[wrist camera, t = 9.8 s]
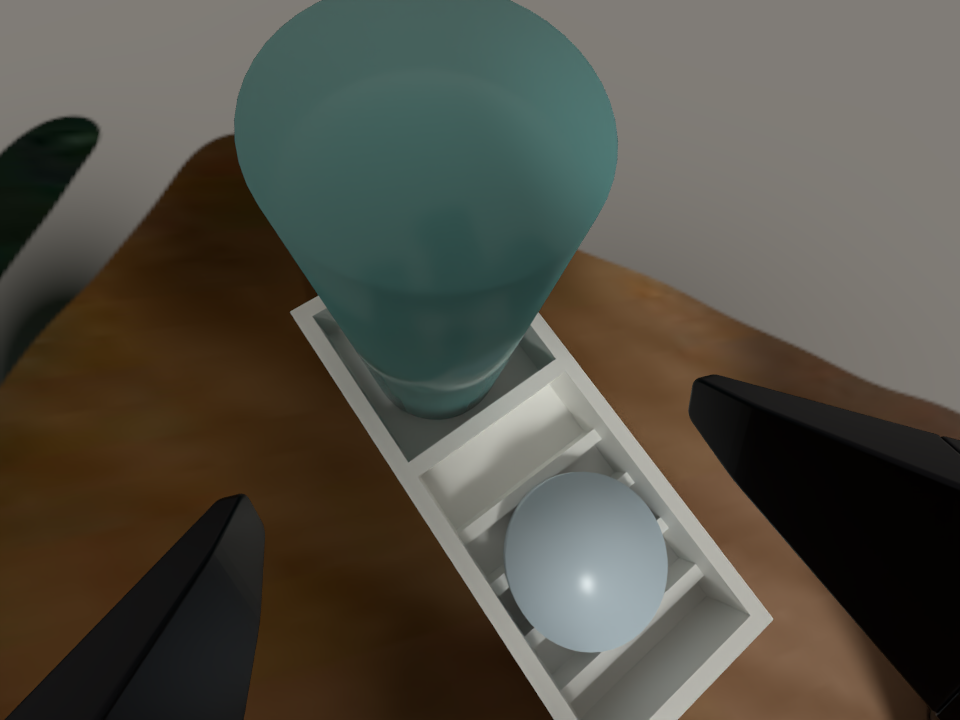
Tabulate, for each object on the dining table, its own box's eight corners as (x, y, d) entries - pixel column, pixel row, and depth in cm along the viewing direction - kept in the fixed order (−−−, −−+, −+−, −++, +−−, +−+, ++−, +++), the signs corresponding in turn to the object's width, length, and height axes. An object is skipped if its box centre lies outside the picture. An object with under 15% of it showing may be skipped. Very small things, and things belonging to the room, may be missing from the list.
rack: (711, 592, 18) (773, 619, 15) (569, 729, 16) (603, 796, 13) (458, 255, 21) (463, 213, 18) (315, 340, 19) (289, 311, 16)
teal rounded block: (511, 405, 18) (666, 259, 6) (384, 432, 18) (252, 328, 5) (483, 290, 20) (563, -29, 7) (364, 310, 19) (220, -11, 6)
